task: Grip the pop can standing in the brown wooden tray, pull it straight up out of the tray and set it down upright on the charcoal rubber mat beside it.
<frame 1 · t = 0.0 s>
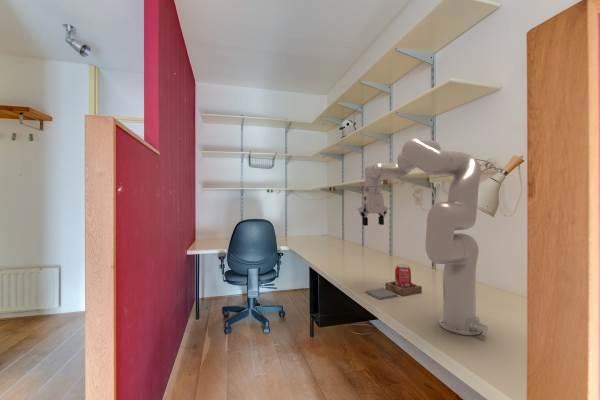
hand: (373, 225, 132), 31 cm above the table, tool pointing down, fingers open, 9 cm apart
soda can: (403, 291, 128), resting in brown wooden tray
mat: (381, 294, 123), on the table
brown wooden tray: (403, 290, 128), on the table
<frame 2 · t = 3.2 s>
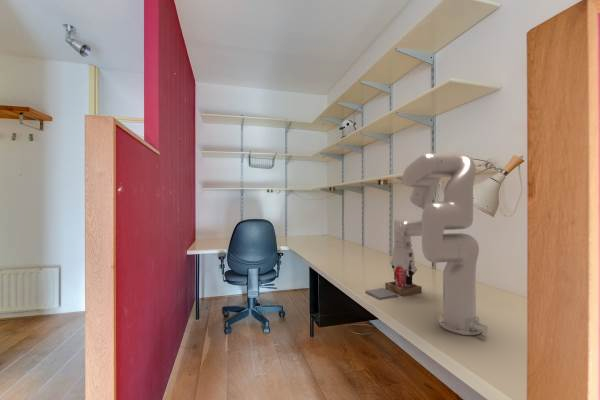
hand: (403, 281, 128), 4 cm above the table, tool pointing down, fingers closed on soda can, 7 cm apart
soda can: (403, 291, 128), resting in brown wooden tray, touching gripper
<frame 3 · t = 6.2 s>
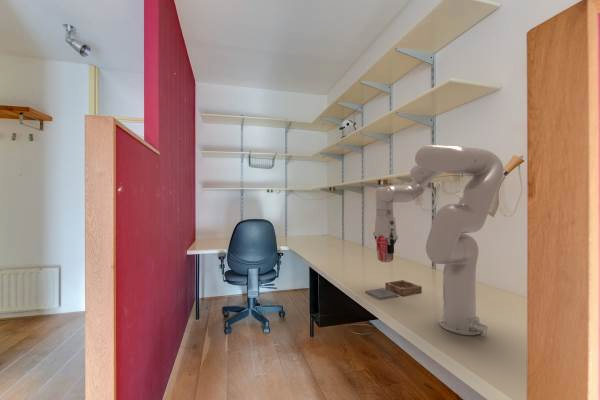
hand: (385, 251, 124), 20 cm above the table, tool pointing down, fingers closed on soda can, 7 cm apart
soda can: (385, 261, 123), point 15 cm above the table, touching gripper
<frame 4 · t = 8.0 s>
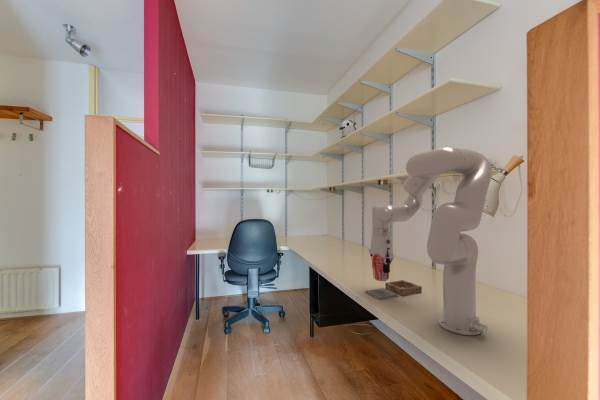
hand: (380, 270, 123), 11 cm above the table, tool pointing down, fingers closed on soda can, 7 cm apart
soda can: (380, 280, 123), point 7 cm above the table, touching gripper
when the fingers open (7 cm above the table, at t = 9.4 s): soda can drops 1 cm, resting on mat.
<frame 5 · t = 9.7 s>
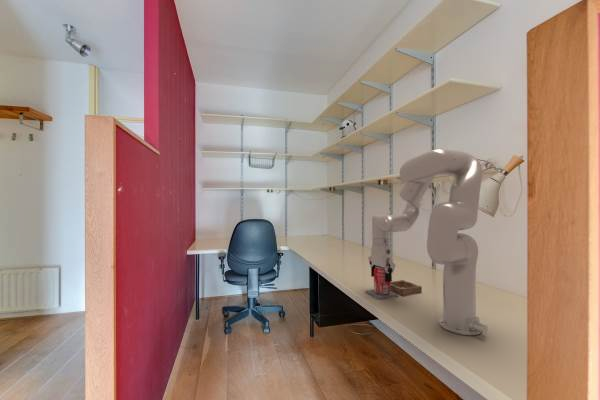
hand: (381, 278, 123), 7 cm above the table, tool pointing down, fingers open, 9 cm apart
soda can: (382, 293, 122), point 1 cm above the table, touching mat
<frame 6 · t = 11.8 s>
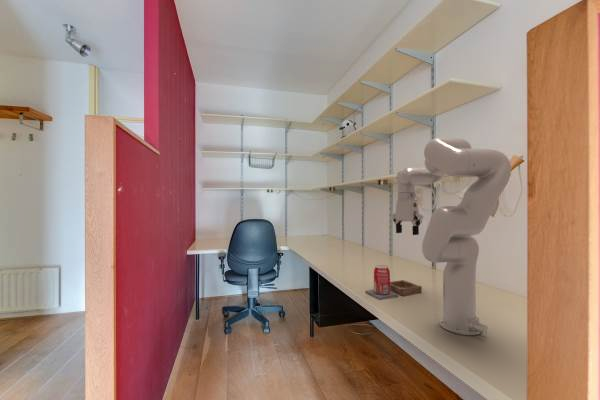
hand: (407, 233, 123), 28 cm above the table, tool pointing down, fingers open, 9 cm apart
nothing on the table moved.
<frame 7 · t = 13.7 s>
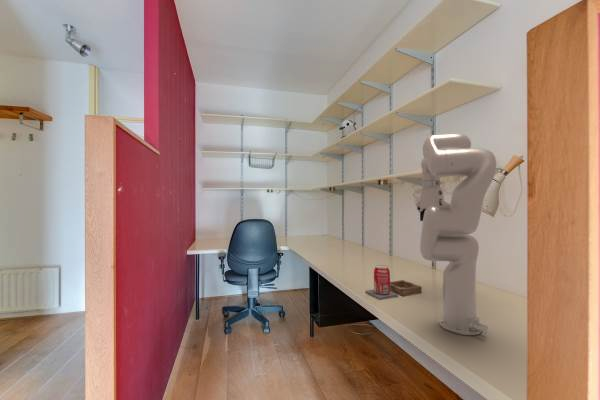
hand: (431, 221, 124), 33 cm above the table, tool pointing down, fingers open, 9 cm apart
nothing on the table moved.
at the end: soda can inside the target area on the mat (0.5 cm from its centre), point 0.8 cm above the mat's base; soda can tilted 0°; the gripper is holding nothing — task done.
